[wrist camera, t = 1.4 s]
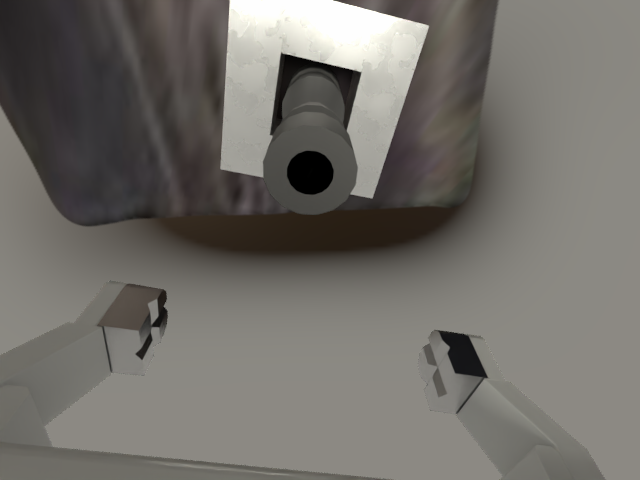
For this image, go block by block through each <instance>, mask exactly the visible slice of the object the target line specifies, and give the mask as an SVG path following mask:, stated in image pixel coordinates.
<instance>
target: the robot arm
mask: <svg viewBox="0 0 640 480" xmlns="http://www.w3.org/2000/svg"><path fill="white" fill-rule="evenodd" d="M166 300H167V293H166V291H165V290H164V289H158V288H152V287H146V286H140V285H135V284H126V283H121V282H115V281H109V282H107V283H106V284H104V286H103V287H102V288H101V289H100V291H99V292H98V293H97V294H96V296H95V297H94V298H93V299H92V301H91V302H90V303H89V305H88V306H87V307H86V308H85V309H84V311H83V312H82V313H81V314H80V316H79V317H78V318H77V319H76V321H75V322H74V323H70V322H68V323H65V324H63V325H61V326H59V327H57V328H55V329H53V330H51V331H49V332H47V333H45V334H43V335H41V336H39V337H37V338H35V339H33V340H30V341H28V342H26V343H24V344H22V345H20V346H18V347H16V348H14V349H12V350H10V351H8V352H6V353H4V354H2V355H0V480H392V479H381V478H372V477H361V476H351V475H340V474H329V473H319V472H308V471H298V470H288V469H277V468H267V467H256V466H246V465H235V464H224V463H214V462H204V461H193V460H183V459H172V458H162V457H151V456H141V455H130V454H119V453H110V452H99V451H88V450H78V449H67V448H57V447H53V446H52V443H51V441H50V438H49V436H48V433H47V431H46V429H45V425H47V424H48V423H49V422H51V421H52V420H53V419H54V418H56V417H57V416H58V415H59V414H61V413H62V412H63V411H65V410H66V409H67V408H69V407H70V406H71V405H72V404H74V403H75V402H76V401H78V400H79V399H80V398H81V397H83V396H84V395H85V394H87V393H88V392H89V391H91V390H92V389H93V388H94V387H96V386H97V385H98V384H99V383H101V382H102V381H103V380H105V379H106V378H107V377H109V376H110V375H111V373H119V374H130V375H141V376H144V375H145V373H146V371H147V369H148V366H149V364H150V362H151V360H152V358H153V356H154V350H153V347H154V346H156V345H157V344H159V343H160V342H161V340H162V337H163V335H164V332H165V329H166V325H167V319H168V311H167V309H166V308H165V307H164V305H165V302H166ZM428 339H429V341H430V343H429V344H428V345H426V346H424V347H423V348H422V350H421V352H420V354H419V361H418V367H419V373H420V376H421V378H422V379H423V380H424V381H425V382H426V383H427V386H426V388H425V390H424V391H425V394H426V398H427V401H428V405H429V408H430V410H431V411H438V412H444V413H451V414H457V415H456V416H457V417H458V419H459V420H460V421H461V423H462V424H463V425H464V427H465V428H466V429H467V430H468V432H469V433H470V434H471V436H472V437H473V438H474V439H475V441H476V442H477V443H478V445H479V446H480V447H481V449H482V450H483V451H484V452H485V454H486V455H487V456H488V458H489V459H490V460H491V462H492V463H493V464H494V465H495V467H496V468H497V469H498V471H499V472H500V473H501V474H502V476H503V477H502V478H501V479H499V480H605V478H604V477H603V475H602V473H601V472H600V470H599V468H598V467H597V465H596V463H595V462H594V460H593V458H592V457H591V455H590V454H589V452H588V450H587V449H586V448H585V447H584V446H583V445H582V444H580V443H579V442H578V441H577V440H576V439H575V438H574V437H572V436H571V435H570V434H569V433H568V432H567V431H565V430H564V429H563V428H562V427H561V426H560V425H559V424H558V423H556V422H555V421H554V420H553V419H552V418H551V417H550V416H549V415H547V414H546V413H545V412H544V411H543V410H542V409H541V408H539V407H538V406H537V405H536V404H535V403H534V402H533V401H531V400H530V399H529V398H528V397H527V396H526V395H525V394H524V393H522V392H521V391H520V390H519V389H518V388H517V387H516V386H515V385H513V384H512V383H511V382H508V381H505V379H504V377H503V375H502V373H501V371H500V369H499V367H498V365H497V363H496V361H495V359H494V357H493V355H492V353H491V351H490V349H489V347H488V345H487V344H486V342H485V340H484V339H483V338H482V337H481V336H477V335H470V334H462V333H454V332H448V331H440V330H434V331H432V332H431V334H430V336H429V337H428Z"/></svg>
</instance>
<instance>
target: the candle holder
mask: <svg viewBox="0 0 640 480" xmlns="http://www.w3.org/2000/svg"><path fill="white" fill-rule="evenodd" d="M344 112H345V105H344V102H343V98H342V93H341V90H340V86H339V83H338V79H337V77H336V76H335V74H334V73H333V72H332V71H331V69H329V68H327V67H326V66H324V65H322V64H314V63H310V64H307V65H305V66H302V67H300V68H299V69H298V70H297V71H296V72H295V73H294V74H293V76H292V78H291V81H290V83H289V86H288V88H287V92H286V95H285V97H284V99H283V102H282V117H283V120H282V122H281V124H280V126H278V127H277V128H276V130H275V132H274V134H273V137H272V139H271V142H270V144H269V147H268V149H267V152H266V155H265V157H264V160H263V179H264V182H265V184H266V186H267V188H268V190H269V193H270V195H271V196H272V197H273V198H274V199H275V200H276V201H277V202H278V203H279V204H280V205H282V206H283V207H284V208H287V209H289V210H291V211H294V212H296V213H298V214H309V215H318V214H321V213H325V212H328V211H332V210H334V209H335V208H336V207H338V206H339V205H340V204H342V203H343V202H344V201H346V200H347V198H348V197H349V195H350V193H351V192H352V190H353V189H354V187H355V185H356V178H357V171H358V166H357V162H356V158H355V154H354V150H353V147H352V143H351V140H350V136H349V134H348V132H347V131H346V130H345V128H344V125H343V120H344Z"/></svg>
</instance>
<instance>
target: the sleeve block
mask: <svg viewBox="0 0 640 480" xmlns="http://www.w3.org/2000/svg"><path fill="white" fill-rule="evenodd" d="M428 28H429V26H428V25H424V24H420V23H416V22H412V21H409V20H405V19H401V18H397V17H393V16H389V15H385V14H382V13H378V12H374V11H370V10H366V9H362V8H358V7H355V6H351V5H347V4H343V3H339V2H335V1H331V0H230V10H229V27H228V45H227V62H226V80H225V97H224V115H223V133H222V150H221V168H220V169H222V170H227V171H233V172H238V173H243V174H248V175H253V176H258V177H263V160H264V157H265V155H266V152H267V149H268V147H269V144H270V142H271V139H272V137H273V134H274V132H275V130H276V128H277V127H278V126H280V124H281V122H282V119H277V111H278V104H279V96H280V89H281V82H282V75H283V68H284V60H285V54H288V55H292V56H296V57H300V58H305V59H309V60H313V61H317V62H321V63H326V64H330V65H334V66H338V67H343V68H347V69H351V70H354V71H353V75H352V79H351V83H350V88H349V92H348V96H347V100H346V104H345V112H344V120H343V125H344V128H345V130H346V131H347V132H348V134H349V136H350V140H351V143H352V147H353V150H354V154H355V158H356V162H357V166H358V171H357V178H356V185H355V187H354V189H353V190H352V192H351V193H350V194H352V195H357V196H362V197H367V198H373V195H374V192H375V189H376V186H377V183H378V180H379V177H380V174H381V171H382V168H383V165H384V162H385V159H386V156H387V153H388V149H389V146H390V143H391V140H392V137H393V134H394V131H395V128H396V125H397V122H398V119H399V116H400V113H401V110H402V107H403V104H404V101H405V98H406V95H407V92H408V89H409V85H410V82H411V79H412V76H413V73H414V70H415V67H416V64H417V61H418V58H419V55H420V52H421V49H422V46H423V43H424V40H425V37H426V34H427V31H428Z"/></svg>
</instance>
